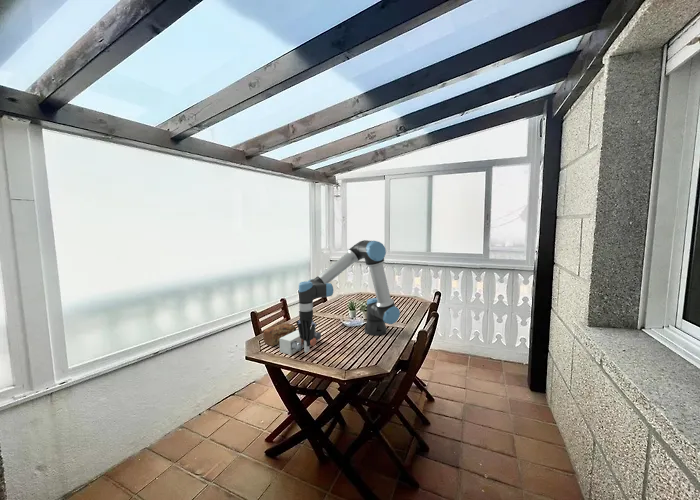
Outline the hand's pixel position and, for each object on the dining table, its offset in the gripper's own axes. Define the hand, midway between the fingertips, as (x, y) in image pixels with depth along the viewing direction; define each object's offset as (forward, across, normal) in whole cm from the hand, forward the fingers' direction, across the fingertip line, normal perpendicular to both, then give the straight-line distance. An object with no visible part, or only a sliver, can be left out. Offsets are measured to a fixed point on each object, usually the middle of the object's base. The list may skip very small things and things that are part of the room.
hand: (306, 351), depth 160 cm
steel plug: (+1, +10, 0) cm, 10 cm away
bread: (+3, +29, -9) cm, 30 cm away
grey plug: (+1, +10, -18) cm, 21 cm away
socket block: (+3, +13, -9) cm, 16 cm away
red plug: (+1, +7, -9) cm, 11 cm away
